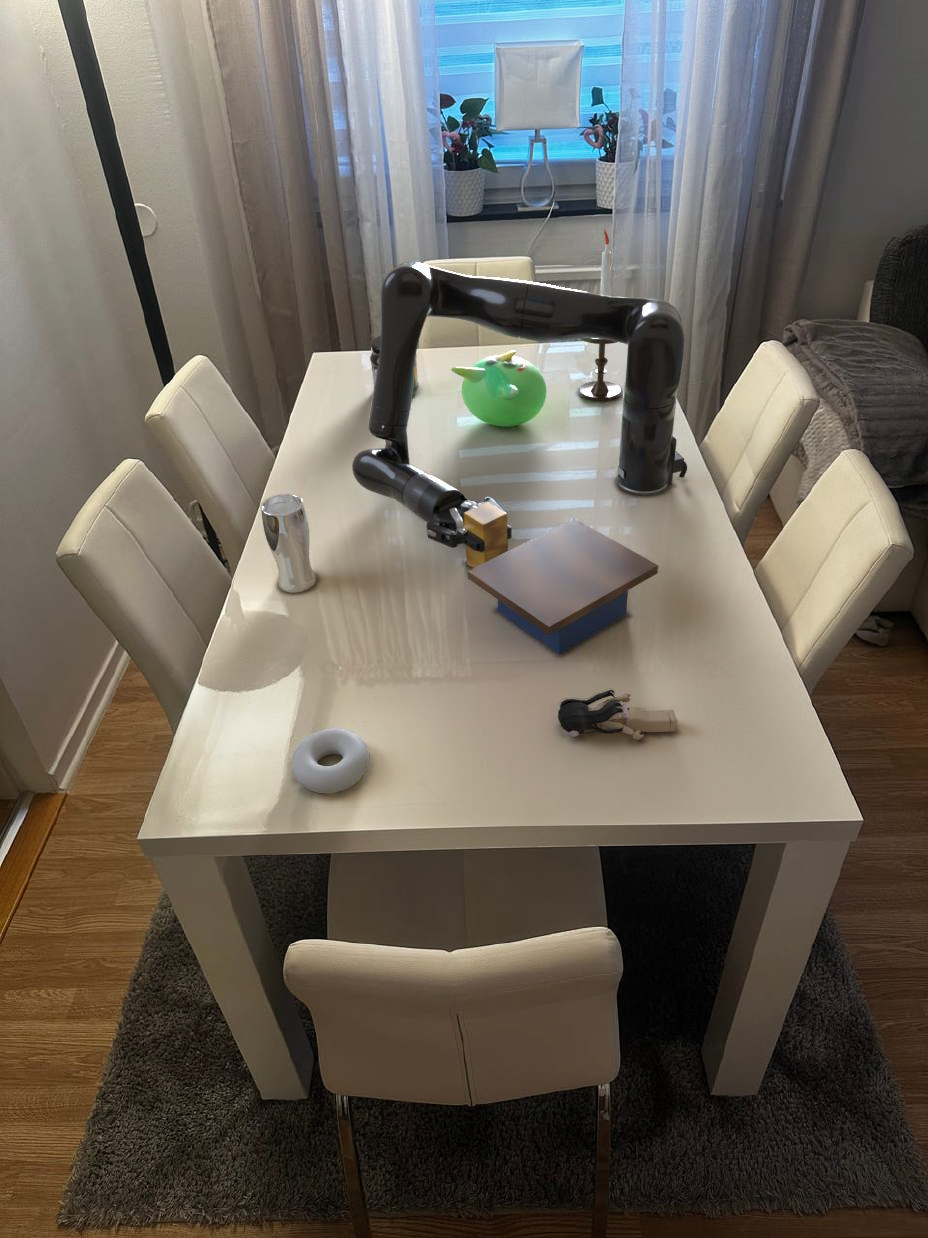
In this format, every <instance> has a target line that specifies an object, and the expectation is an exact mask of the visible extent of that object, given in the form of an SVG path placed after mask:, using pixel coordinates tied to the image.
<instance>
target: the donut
mask: <svg viewBox="0 0 928 1238" xmlns="http://www.w3.org/2000/svg"><path fill="white" fill-rule="evenodd" d="M329 755H338V756H341V757H342V759H341V760H340V761H339V762H337V763H335V764H333V765H322V764H319V761H320V760H321V759H322V758H324V757H326V756H329ZM369 762H370V753H369V749H368V745H367V743H366V741H364V740H363V738H362V737H361V736H360V735H358V734H357V733H355V732H353V731H352V730H348V729H344V728H325V729H322V730H321V729H320V730H318V731H315V732H314V733H311V734H310V735H307V736H306V737H305V738H304V739H303V740H301V741H300V742H299V743H298V745H297V746H296V747H295V749H294V750H293V753H292V756H291V760H290V766H291V774H292V775H293V777H294V779H295V781H297V783H298V784H299V785H300V786H302V787H303V788H305V789H306V790H308V791H310V792H314V793H318V794H334V793H338V792H342V791H344V790H346V789H348V788H350V787H352V786H354V785H355V784H356V783H358V782H359V781H360V780H361V779H362V777H363V776H364V774H365V773H366V771H367V769H368V767H369Z"/></svg>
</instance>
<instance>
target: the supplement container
mask: <svg viewBox="0 0 928 1238" xmlns="http://www.w3.org/2000/svg"><path fill="white" fill-rule="evenodd" d="M380 345H381V335H378V336H376V337H374V338H373V339H372V340H371V341H370V350H371V354H370V356H369V361H370V365H371V374H372V375H371V376H372V382H373V386H374V385H375V380H376V374H377V369H378V363H379V356H380ZM417 358H418V356H417V353H416V357H415V364H414V379H413V393H412V396H413V395H414V394H416V393H417V392H418V390H419V387H420V383H419V376H418V375H419V373H418V362H417Z"/></svg>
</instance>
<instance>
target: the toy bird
mask: <svg viewBox="0 0 928 1238" xmlns="http://www.w3.org/2000/svg"><path fill="white" fill-rule="evenodd" d="M516 352H517V350H510V351H507V352H504V353H501V354H499V355H498V354H497V355H490V356H487V357H485V358H482V359H480V360H478V361H477V362H475V363H473V364H472V366H470V367H468V366H453V367H452V368H451V369H450V371H451V372H453V374H456V375H458V376H460V377H461V378H463V381H462V385H461V396H462V400H463V403H464V405H465V407H466V408H467V409H468V411H469V412H470V413H471V414H472V415H473V416H474V417H476V418H477V419H478V420H480V421H482V422H484V423H486V424H489V425H492V426H496V427H515V426H520V425H523V424H525V423H528V422H529V421H531V420H533V419H534V418H535V417H536V416H537V415H538V414H539V413H540V412H541V410H542V408H543V407H544V404H545V401H546V398H547V385H546V381H545V378H544V376H543V374H542V373H541V372H540V370H539V369H538V368H537V366H535V365H534V364H533V363H531V362H529V361H528V360H526V359H524V358H522V357H519V356H515V355H516Z"/></svg>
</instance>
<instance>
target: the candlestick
mask: <svg viewBox="0 0 928 1238" xmlns="http://www.w3.org/2000/svg"><path fill="white" fill-rule="evenodd" d="M603 235H604V240H605V247H604V251H602V252H601V268H600V290H599V295H602V296H610V285H611V268H612V267H611V266H612V251H610V247H609V246H610V245H609V243H610V238H609V235H608V233H607V231H606V228H604V229H603ZM580 341H583V342H586V343H589V344H593V345H594V344H595V345H598V357H596V358H595V359H594V363H595V365H596V367H597V369H595V372H594V373H595V374H596V375H597V377H596V379H597V380H595V381H594V380H593V381H588V382H586V383H585V382H584V384H582V385H581V386H580V387H579V396H580V397H581V398H582V399H584V400H587V401H589V402H598V403H603V402H609V401H614V400H615V399H617V398H618V397H620V396H621V387H620V385H618V384H616V383H614V382H611V381H606V380H604V376H605V375H606V374H607V370H606V369H605V368H606V367H605V366H607V364H608V362H609V360H608V357H606V356H605V355H606V354H605V353H606V345H611V344H616V343H618V342H616V341H611V340H606V339H599V338H584V339H580Z"/></svg>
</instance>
